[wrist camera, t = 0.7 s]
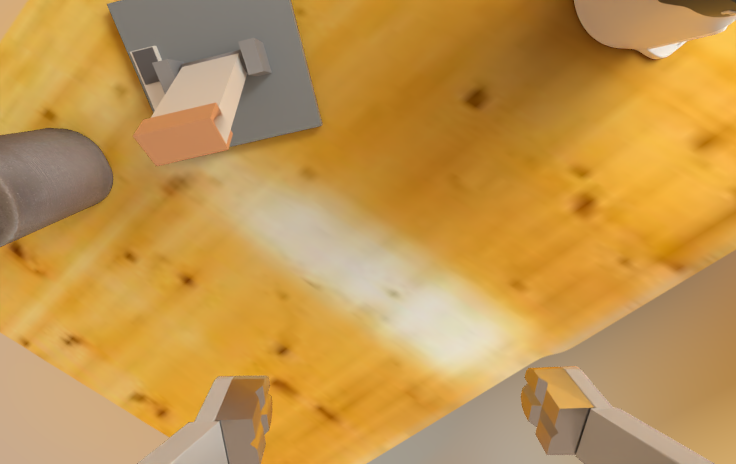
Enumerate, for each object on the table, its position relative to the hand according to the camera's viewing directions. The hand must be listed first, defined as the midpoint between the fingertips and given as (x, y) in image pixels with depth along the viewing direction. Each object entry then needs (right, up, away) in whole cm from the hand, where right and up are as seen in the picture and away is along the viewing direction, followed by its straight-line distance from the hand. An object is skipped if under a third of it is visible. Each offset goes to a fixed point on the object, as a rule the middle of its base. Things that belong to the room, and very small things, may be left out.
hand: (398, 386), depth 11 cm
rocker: (-17, +23, +26) cm, 38 cm away
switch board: (-17, +23, +28) cm, 40 cm away
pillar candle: (-37, +13, +32) cm, 50 cm away
